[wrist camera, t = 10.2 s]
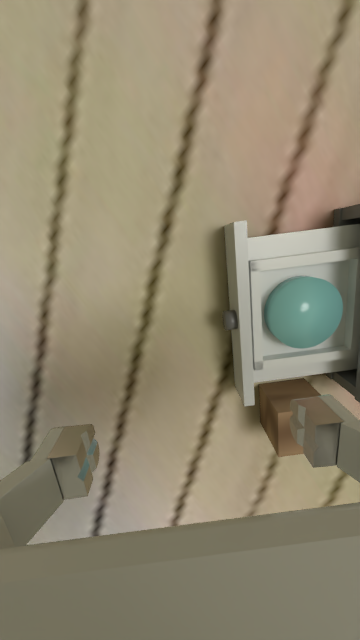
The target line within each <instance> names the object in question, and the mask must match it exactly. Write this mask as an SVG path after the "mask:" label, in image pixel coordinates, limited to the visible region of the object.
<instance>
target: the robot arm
mask: <svg viewBox="0 0 360 640" xmlns="http://www.w3.org/2000/svg"><path fill="white" fill-rule="evenodd" d="M290 410H291V411H292V412H293V414H292V416H291V417H290V429H291V433H292V435H293V438H294V439H295V441H296V442H297V444H299V445H301V446H302V447H303V453H304V455H305V456H306V458H307V459H308V461H309V462H310V464H311V465H312V467H324V466H334V465H337V467H338V468H340V469H341V470H343V471H344V472H345V473H347V474H348V475H350V476H351V477H353V478H354V479H356V480H357V481H358V482H360V421H359V420H358V419H357V418H356V417H355V416H354V415H353V414H352V413H351V412H350V411H348V410H347V409H346V408H345V407H344V406H343V405H342V404H341V403H340V402H338V401H337V400H336V399H335V398H334V397H333V396H332V395H329V394H328V395H321V396H316V397H310V398H302V399H294V400H291V402H290ZM94 435H95V430H94V426H93V425H92V424H86V425H76V426H66V427H58V428H53V429H51V430H50V431H49V433H48V435H47V436H46V438H45V439H44V441H43V442H42V444H41V446H40V447H39V449H38V450H37V452H36V453H35V455H34V457H33V458H32V460H31V461H28V462H25V463H24V464H23V465H21V466H20V467H19V468H17V469H16V470H14V471H13V472H12V473H10V474H9V475H8V476H6V477H5V478H3V479H2V480H1V481H0V640H360V502H358V503H351V504H343V505H335V506H328V507H320V508H312V509H304V510H296V511H289V512H281V513H273V514H265V515H257V516H249V517H242V518H234V519H226V520H218V521H211V522H203V523H195V524H188V525H180V526H172V527H165V528H157V529H149V530H141V531H134V532H126V533H118V534H110V535H103V536H95V537H87V538H80V539H72V540H64V541H56V542H49V543H41V544H33V545H26V544H27V543H28V542H29V541H30V540H31V539H32V537H33V536H34V535H35V534H36V533H37V532H38V530H39V529H40V528H41V527H42V526H43V525H44V523H45V522H46V521H47V520H48V519H49V518H50V516H51V515H52V514H53V513H54V512H55V511H56V509H57V508H58V507H59V506H60V505H61V504H62V502H63V500H65V499H72V498H78V497H84V496H88V493H89V490H90V487H91V484H92V481H93V476H92V472H93V471H94V470H95V469H96V468H97V465H98V461H99V446H98V442H97V441H96V440H95V439H94V438H93V437H94Z"/></svg>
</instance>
